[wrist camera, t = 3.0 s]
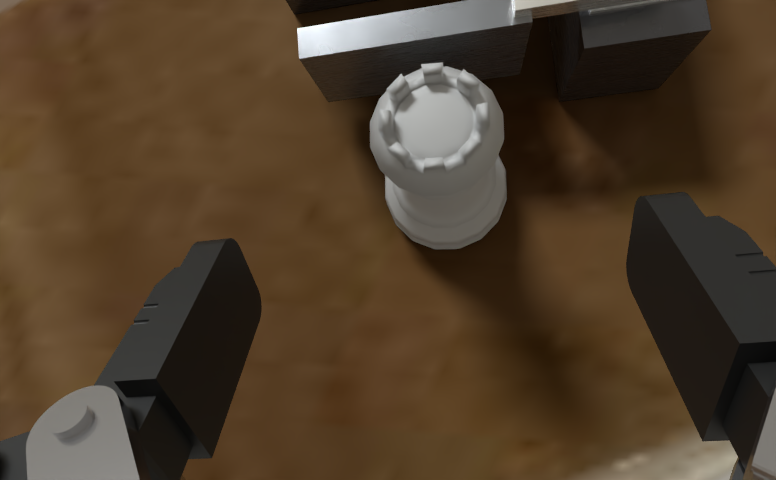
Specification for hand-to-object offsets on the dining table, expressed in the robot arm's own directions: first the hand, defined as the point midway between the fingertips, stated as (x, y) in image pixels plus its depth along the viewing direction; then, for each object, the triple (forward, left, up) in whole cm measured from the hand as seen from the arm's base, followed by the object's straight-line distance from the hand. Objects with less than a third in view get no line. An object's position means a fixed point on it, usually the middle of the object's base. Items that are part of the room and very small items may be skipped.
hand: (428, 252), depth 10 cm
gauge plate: (+2, +7, -7) cm, 10 cm away
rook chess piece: (0, +3, -9) cm, 9 cm away
